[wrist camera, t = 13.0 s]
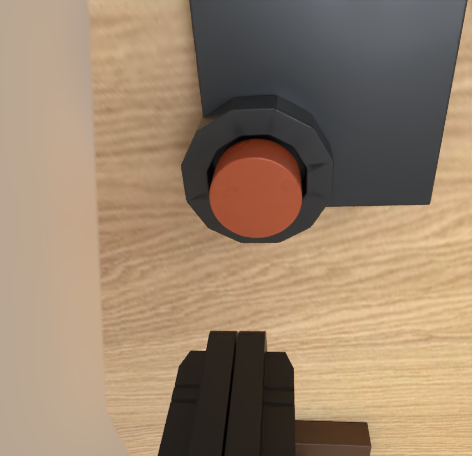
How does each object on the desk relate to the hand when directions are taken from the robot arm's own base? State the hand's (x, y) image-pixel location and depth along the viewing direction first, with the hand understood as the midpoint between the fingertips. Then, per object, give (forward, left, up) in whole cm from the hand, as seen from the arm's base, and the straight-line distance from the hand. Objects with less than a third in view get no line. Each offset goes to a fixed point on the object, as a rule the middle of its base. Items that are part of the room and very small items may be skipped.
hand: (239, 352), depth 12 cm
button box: (+3, +3, -14) cm, 15 cm away
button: (0, 0, -11) cm, 10 cm away
